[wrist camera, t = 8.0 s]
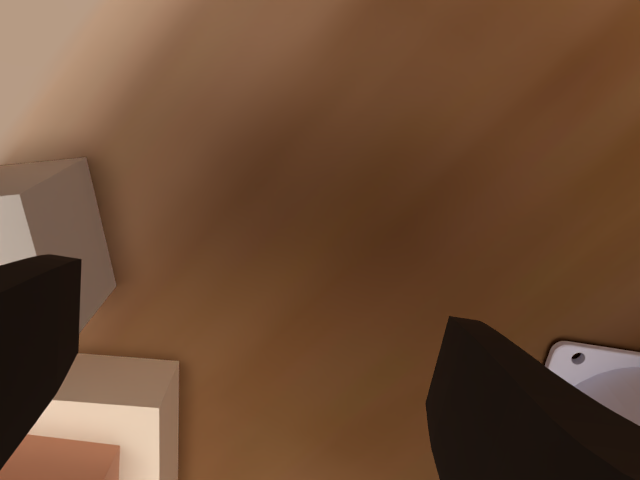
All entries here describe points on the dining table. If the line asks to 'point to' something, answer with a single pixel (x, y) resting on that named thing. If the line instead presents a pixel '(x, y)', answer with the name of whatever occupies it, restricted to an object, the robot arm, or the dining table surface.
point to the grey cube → (56, 223)
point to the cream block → (120, 412)
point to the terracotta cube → (62, 460)
